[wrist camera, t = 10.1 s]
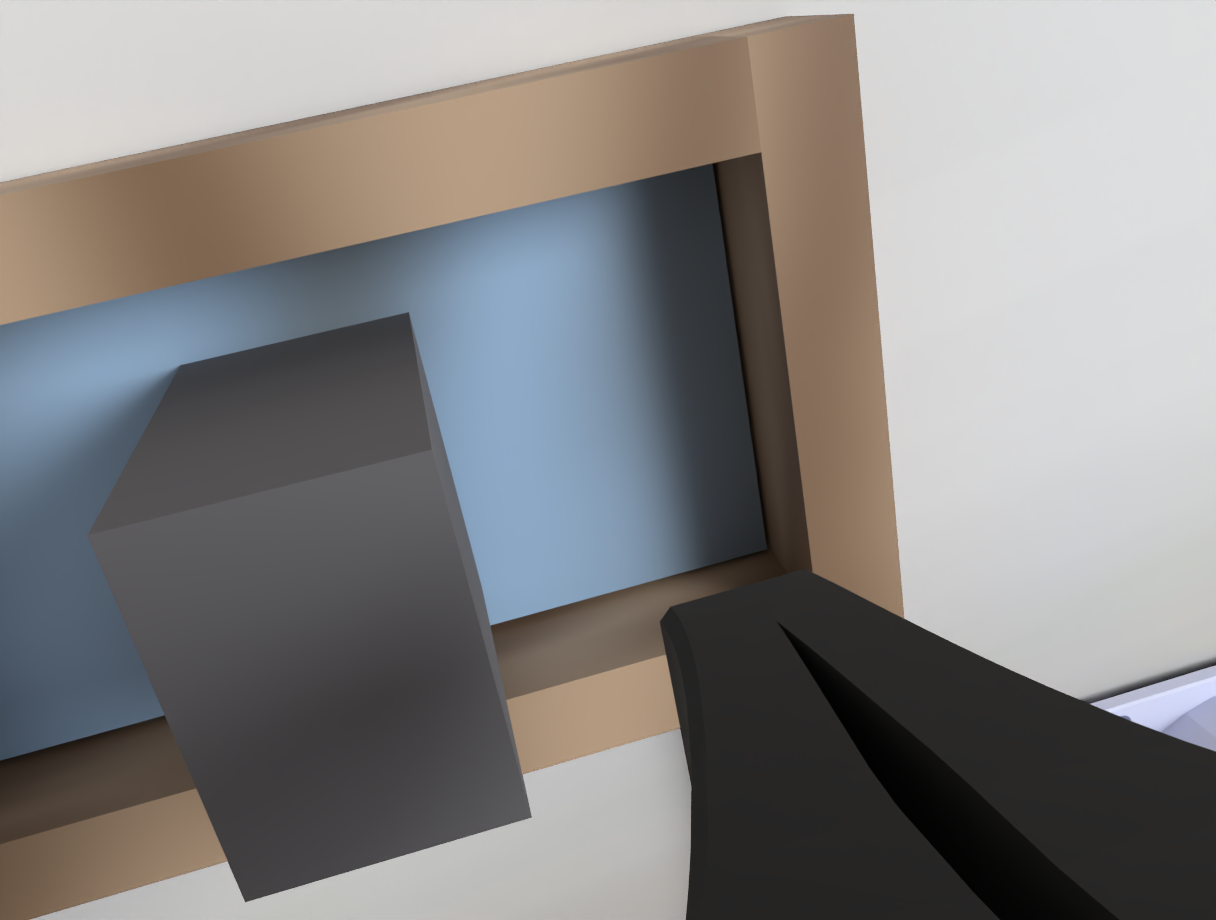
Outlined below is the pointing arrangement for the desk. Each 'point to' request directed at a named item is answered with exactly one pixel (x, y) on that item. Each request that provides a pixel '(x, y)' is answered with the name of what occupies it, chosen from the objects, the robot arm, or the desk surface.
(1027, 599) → the desk surface
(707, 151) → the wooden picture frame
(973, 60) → the desk surface
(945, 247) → the desk surface
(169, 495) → the tall grey box
